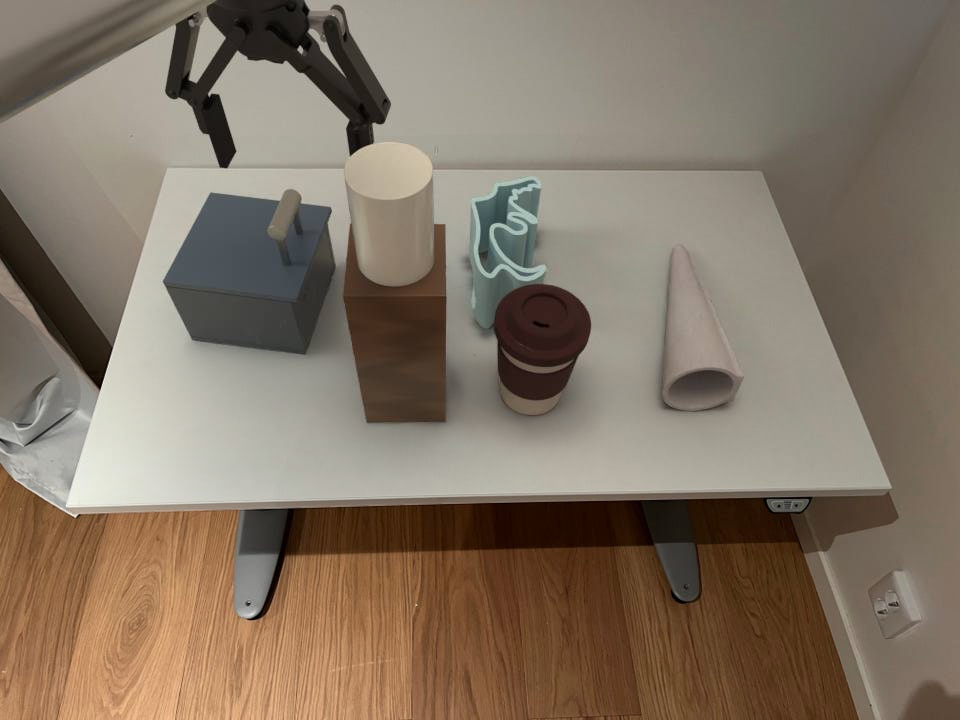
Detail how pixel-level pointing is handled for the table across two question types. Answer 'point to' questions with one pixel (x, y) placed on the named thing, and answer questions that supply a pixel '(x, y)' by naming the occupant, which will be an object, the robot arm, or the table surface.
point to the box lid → (250, 247)
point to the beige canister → (391, 212)
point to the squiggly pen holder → (503, 244)
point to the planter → (695, 344)
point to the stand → (399, 340)
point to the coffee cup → (538, 345)
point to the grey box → (259, 312)
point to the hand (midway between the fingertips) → (294, 168)
